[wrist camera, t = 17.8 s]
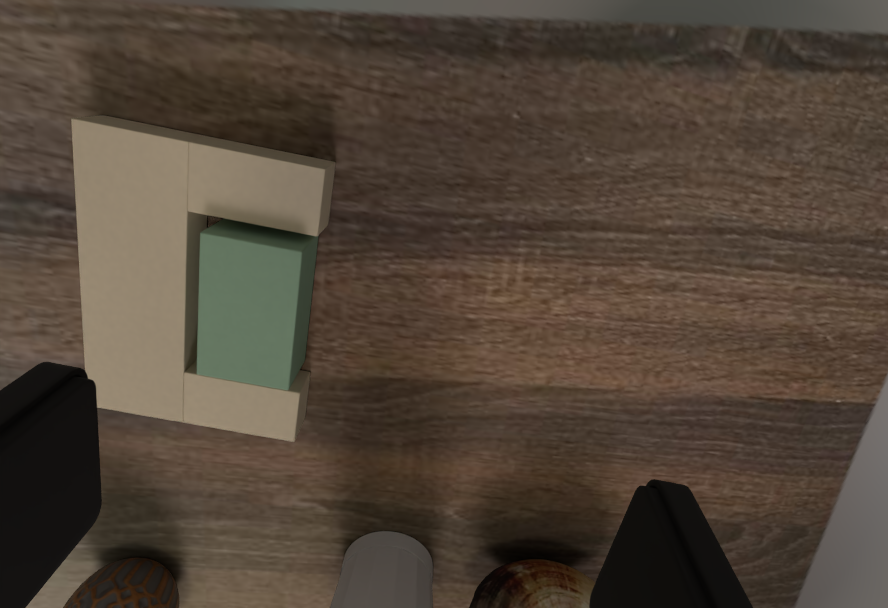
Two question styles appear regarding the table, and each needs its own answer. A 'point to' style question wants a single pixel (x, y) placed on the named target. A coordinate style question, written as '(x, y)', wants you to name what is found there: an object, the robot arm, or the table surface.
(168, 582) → the vase
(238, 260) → the green block
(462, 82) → the table surface
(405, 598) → the cup
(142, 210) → the beige c-shaped block
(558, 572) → the seashell
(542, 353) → the table surface
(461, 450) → the table surface
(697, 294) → the table surface
